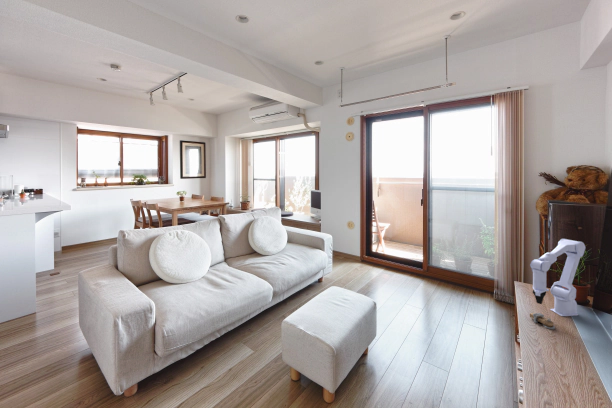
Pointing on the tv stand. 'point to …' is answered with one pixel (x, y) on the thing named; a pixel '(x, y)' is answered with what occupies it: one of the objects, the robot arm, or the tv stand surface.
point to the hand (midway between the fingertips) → (539, 303)
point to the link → (544, 320)
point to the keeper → (537, 316)
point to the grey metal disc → (549, 327)
